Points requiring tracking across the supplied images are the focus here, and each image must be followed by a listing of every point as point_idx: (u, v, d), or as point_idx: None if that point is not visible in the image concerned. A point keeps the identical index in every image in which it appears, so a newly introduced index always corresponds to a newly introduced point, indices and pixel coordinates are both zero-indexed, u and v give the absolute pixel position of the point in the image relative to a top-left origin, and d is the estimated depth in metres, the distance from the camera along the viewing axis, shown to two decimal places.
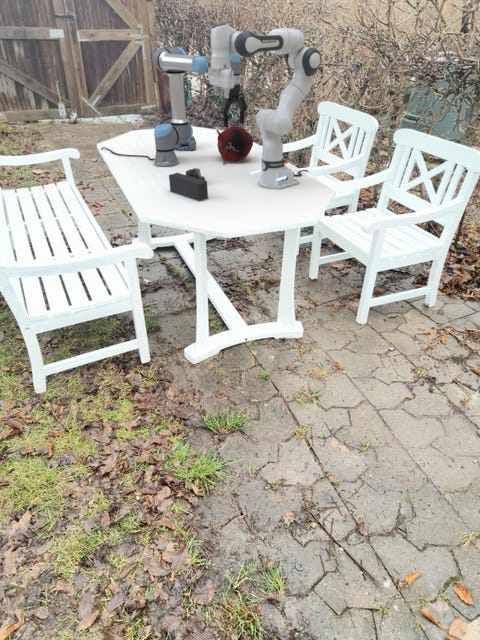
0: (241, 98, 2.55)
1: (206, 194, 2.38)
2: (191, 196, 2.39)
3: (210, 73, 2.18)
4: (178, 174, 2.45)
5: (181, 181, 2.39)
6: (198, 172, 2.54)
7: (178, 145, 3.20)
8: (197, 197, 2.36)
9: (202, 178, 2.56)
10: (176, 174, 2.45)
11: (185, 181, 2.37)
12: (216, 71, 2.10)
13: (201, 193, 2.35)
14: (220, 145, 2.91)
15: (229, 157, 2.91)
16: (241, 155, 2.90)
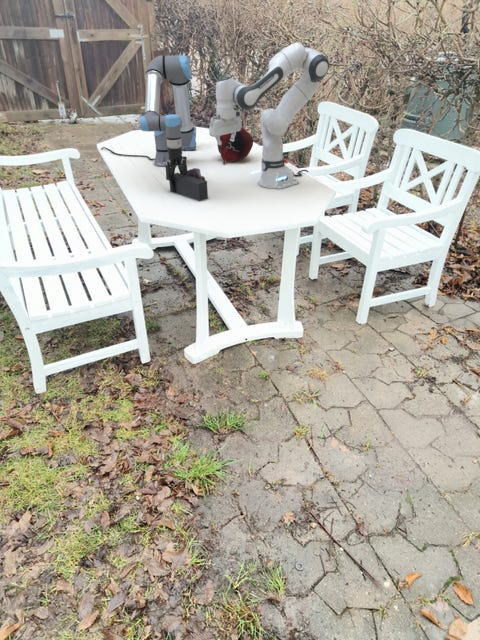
0: (183, 162, 2.44)
1: (206, 194, 2.38)
2: (191, 196, 2.39)
3: None
4: (178, 174, 2.45)
5: (181, 181, 2.39)
6: (198, 172, 2.54)
7: None
8: (197, 197, 2.36)
9: (202, 178, 2.56)
10: (176, 174, 2.45)
11: (185, 181, 2.37)
12: None
13: (201, 193, 2.35)
14: (220, 145, 2.91)
15: (229, 157, 2.91)
16: (241, 155, 2.90)
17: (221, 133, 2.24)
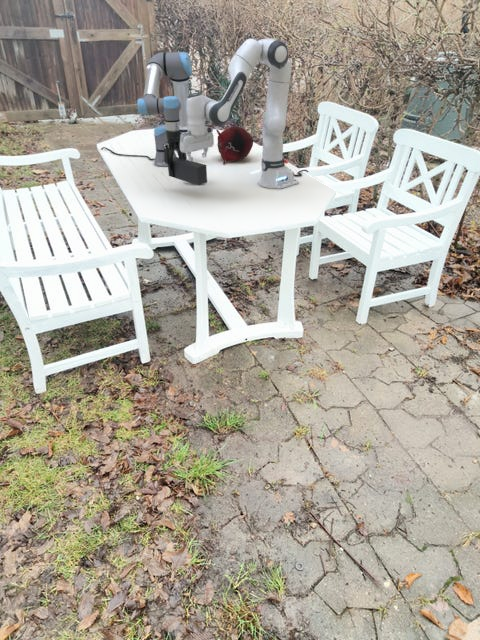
0: None
1: (206, 178, 2.33)
2: (190, 181, 2.34)
3: None
4: (177, 158, 2.40)
5: (179, 165, 2.35)
6: None
7: None
8: (196, 181, 2.31)
9: None
10: (174, 158, 2.40)
11: (184, 165, 2.32)
12: None
13: (200, 177, 2.30)
14: (220, 145, 2.91)
15: (229, 157, 2.91)
16: (241, 155, 2.90)
17: (192, 149, 2.21)
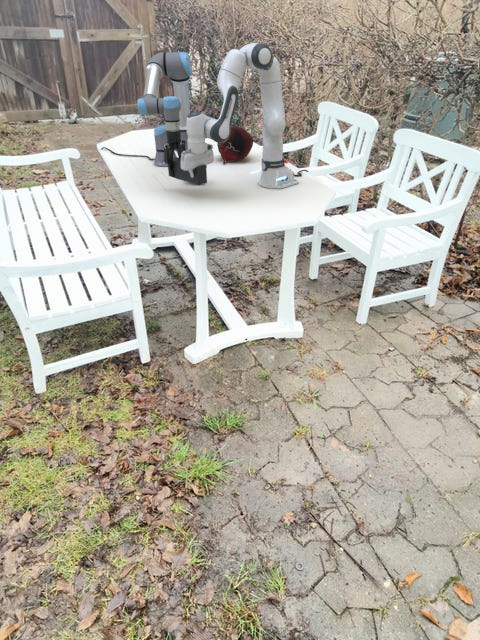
0: (182, 146, 2.39)
1: (206, 178, 2.33)
2: (190, 181, 2.34)
3: None
4: (177, 158, 2.40)
5: (179, 165, 2.35)
6: None
7: None
8: (196, 181, 2.31)
9: None
10: (174, 158, 2.40)
11: None
12: None
13: (200, 177, 2.30)
14: (220, 145, 2.91)
15: (229, 157, 2.91)
16: (241, 155, 2.90)
17: (192, 167, 2.26)
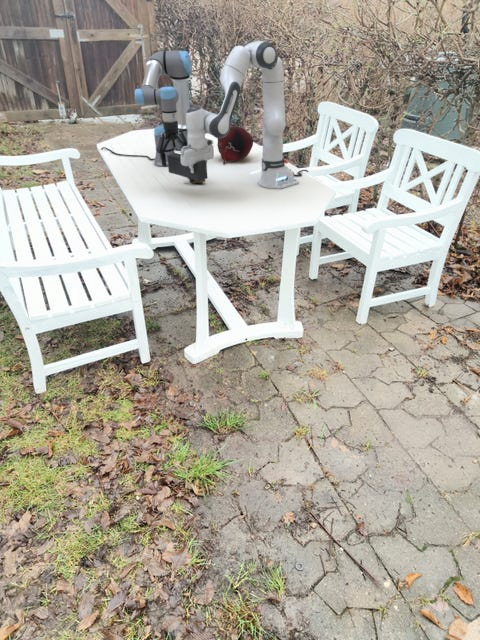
0: (180, 135, 2.38)
1: (206, 174, 2.32)
2: (190, 177, 2.33)
3: None
4: (177, 154, 2.39)
5: (179, 161, 2.33)
6: None
7: None
8: (196, 176, 2.30)
9: None
10: (174, 154, 2.39)
11: None
12: None
13: (200, 173, 2.29)
14: (220, 145, 2.91)
15: (229, 157, 2.91)
16: (241, 155, 2.90)
17: (193, 162, 2.24)
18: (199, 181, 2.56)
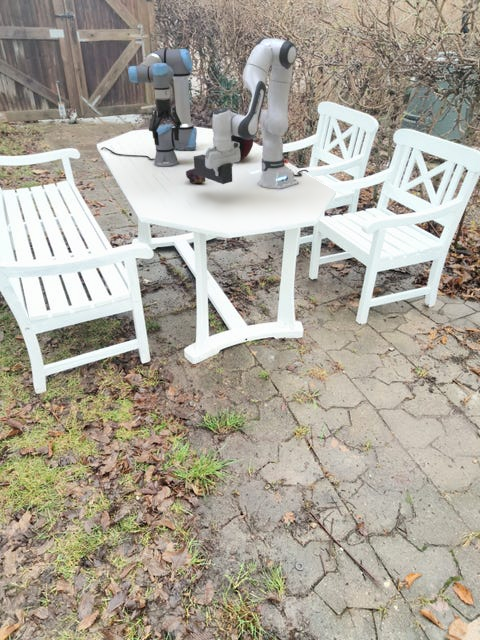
0: (173, 114, 2.34)
1: (231, 177, 2.26)
2: (215, 179, 2.27)
3: None
4: (203, 156, 2.34)
5: None
6: None
7: None
8: (221, 180, 2.24)
9: (202, 178, 2.56)
10: (201, 156, 2.34)
11: None
12: None
13: (225, 176, 2.23)
14: None
15: None
16: (241, 155, 2.90)
17: (217, 165, 2.19)
18: (199, 181, 2.56)
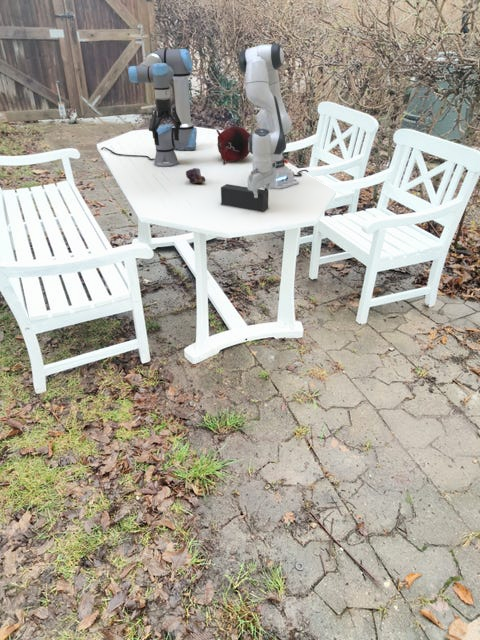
0: (173, 114, 2.34)
1: (267, 204, 2.25)
2: (251, 208, 2.24)
3: None
4: (230, 185, 2.28)
5: (238, 192, 2.23)
6: (198, 172, 2.54)
7: None
8: (260, 208, 2.22)
9: (202, 178, 2.56)
10: (227, 185, 2.28)
11: (244, 192, 2.21)
12: None
13: (264, 203, 2.21)
14: (220, 145, 2.91)
15: (229, 157, 2.91)
16: (241, 155, 2.90)
17: (259, 186, 2.15)
18: (199, 181, 2.56)
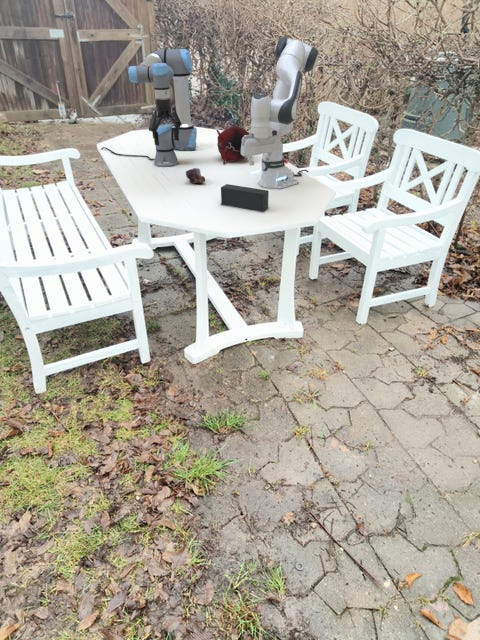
0: (173, 114, 2.34)
1: (267, 204, 2.25)
2: (251, 208, 2.24)
3: None
4: (230, 185, 2.28)
5: (238, 192, 2.23)
6: (198, 172, 2.54)
7: None
8: (260, 208, 2.22)
9: (202, 178, 2.56)
10: (227, 185, 2.28)
11: (244, 192, 2.21)
12: None
13: (264, 203, 2.21)
14: (220, 145, 2.91)
15: (229, 157, 2.91)
16: (241, 155, 2.90)
17: (253, 153, 2.06)
18: (199, 181, 2.56)
